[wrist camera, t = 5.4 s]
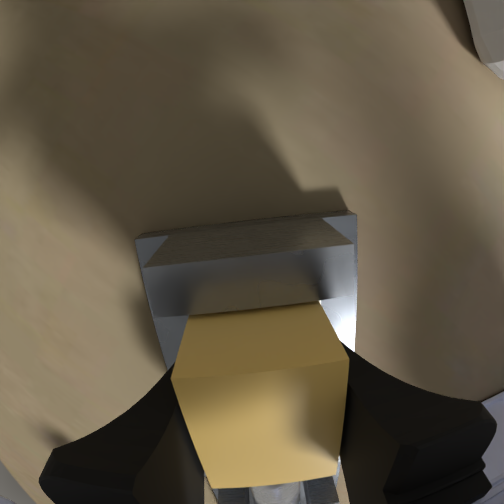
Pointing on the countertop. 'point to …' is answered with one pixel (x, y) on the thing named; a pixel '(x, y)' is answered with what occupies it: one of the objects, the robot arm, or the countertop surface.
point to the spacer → (263, 394)
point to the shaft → (277, 493)
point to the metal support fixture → (253, 286)
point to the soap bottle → (488, 32)
